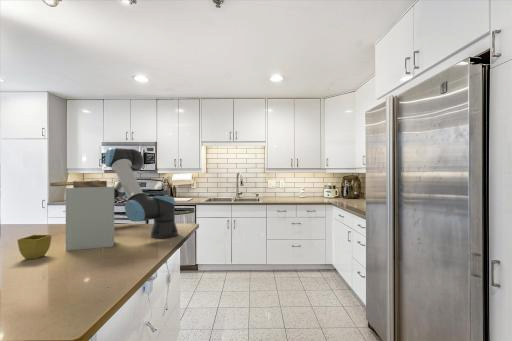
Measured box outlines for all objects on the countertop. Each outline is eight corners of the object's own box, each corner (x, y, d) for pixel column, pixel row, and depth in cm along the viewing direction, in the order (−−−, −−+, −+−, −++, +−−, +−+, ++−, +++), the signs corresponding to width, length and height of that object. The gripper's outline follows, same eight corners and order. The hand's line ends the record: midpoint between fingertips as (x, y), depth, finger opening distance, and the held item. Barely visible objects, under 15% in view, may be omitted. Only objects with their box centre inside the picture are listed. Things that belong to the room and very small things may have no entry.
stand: (114, 241, 152) (114, 185, 152) (112, 246, 143) (112, 186, 143) (70, 245, 144) (70, 186, 144) (65, 250, 135) (65, 187, 135)
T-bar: (110, 184, 162) (110, 179, 162) (105, 186, 142) (105, 180, 142) (81, 185, 157) (81, 180, 157) (73, 187, 137) (73, 181, 137)
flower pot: (36, 260, 120) (36, 239, 120) (16, 260, 121) (16, 239, 121) (52, 254, 129) (52, 234, 129) (33, 254, 129) (33, 234, 129)
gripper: (122, 207, 190) (122, 196, 172) (78, 207, 179) (74, 196, 162) (122, 196, 193) (122, 185, 175) (79, 196, 182) (75, 184, 165)
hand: (99, 190), depth 168 cm, fingers open, 13 cm apart
